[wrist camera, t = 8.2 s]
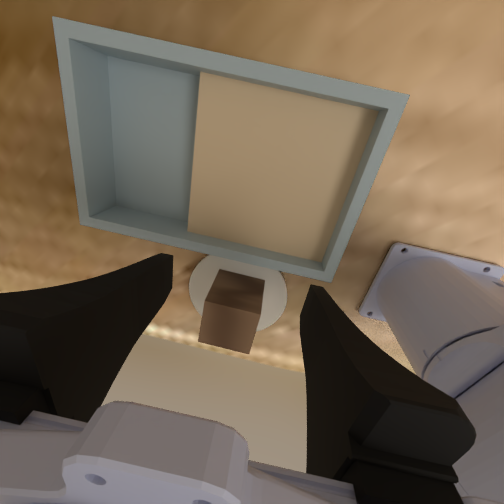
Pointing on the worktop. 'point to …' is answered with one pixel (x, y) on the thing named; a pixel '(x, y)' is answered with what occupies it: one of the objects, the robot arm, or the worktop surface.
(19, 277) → the worktop surface
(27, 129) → the worktop surface
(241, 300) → the block
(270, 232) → the caddy
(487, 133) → the worktop surface
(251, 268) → the coaster
